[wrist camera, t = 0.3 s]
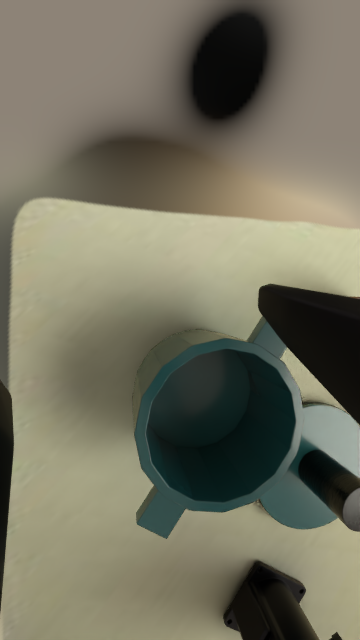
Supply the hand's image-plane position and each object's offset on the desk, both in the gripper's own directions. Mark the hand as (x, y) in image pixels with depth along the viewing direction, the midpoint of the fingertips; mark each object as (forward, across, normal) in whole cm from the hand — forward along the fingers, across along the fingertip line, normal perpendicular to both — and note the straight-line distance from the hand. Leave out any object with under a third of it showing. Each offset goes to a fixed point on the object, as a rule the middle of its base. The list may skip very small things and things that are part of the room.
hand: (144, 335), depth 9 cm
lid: (+2, -13, +23) cm, 27 cm away
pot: (+8, -4, +14) cm, 17 cm away
